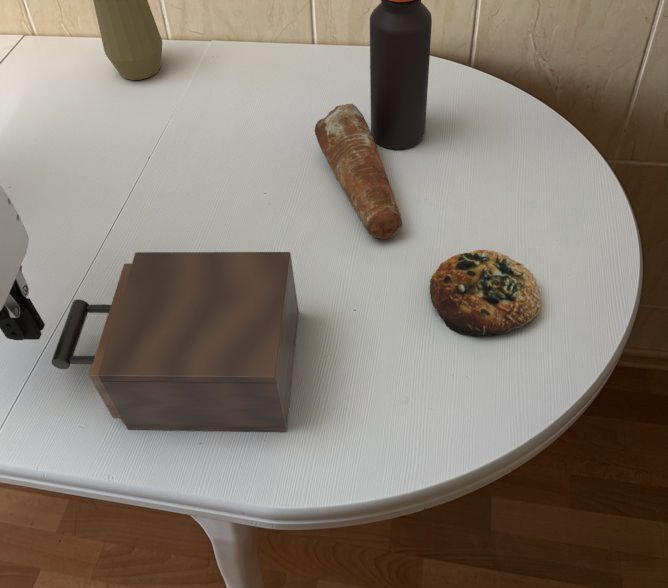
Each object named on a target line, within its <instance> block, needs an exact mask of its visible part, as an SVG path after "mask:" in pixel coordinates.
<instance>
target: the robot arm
mask: <svg viewBox="0 0 668 588" xmlns="http://www.w3.org/2000/svg"><path fill="white" fill-rule="evenodd" d="M29 240H30V239H29V233H28V231H27V229H26V226H25V224H24V222H23V220H22V217H21V216H20V214H19V212H18V210H17V208H16V207H15V205H14V203H13V201H12V200H11V199H10V197H9V195H8V194H7V192H6V190H5V189H4V187H3V186H2V184H0V330H1V332H2V334H3V335H4V337H5V338H6V339H9V340H13V341H24V340H29V341H30V340H33V341H34V340H35V341H36V340H40V339H41V336H42V335H43V334H42V331H44V328H45V326H46V324H45V321H44V320H43V318H42V317H41V315H40V313H39V312H38V310H37V308H36V307H35V305H34V303H33V302H32V300H31V298H30V297H28V296H29V294H30V293H29V292H30V288H29V285H28V283H27V280H26V278H25V276H24V274H23V270H22V268H23V265H22V264H23V261H24V259H25V256H26V254H27V250H28V247H29V242H30V241H29Z"/></svg>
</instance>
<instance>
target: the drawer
mask: <svg viewBox="0 0 668 588" xmlns="http://www.w3.org/2000/svg"><path fill="white" fill-rule="evenodd" d="M131 265H132V263H124V264H123V266H122V269H121V272H120V276H119V280H118V281H117V285H116V288H115V292H114V293H113V294H114V295H113V298H112V301H111V303H110V304H89V303H88V302H87V301H85V300H83V299H74V300H73V301H72V303H71V305H70V308H69V310H68V314H67V316H66V319H65V322H64V325H63V328H62V331H61V333H60V336H59V339H58V341H57V345H56V348H55V350H54V353H53V355H52V358H51V361H50V362H51V365H52V366H53V367H55V368H56V369H58V370H68V369H69V368H70V367H71V366H72V365H78V366H79V365H84V366H85V365H87V366H88V365H89V366H90V365H91V368H90V371H89V374H88V377H89V379H90V381H91V382H92V384H93V385H94V387H95V389H96V391H97V393H98V395H99V396H100V398H101V401H103V403H104V405H105V407H106V408H107V410H108V412H109V413H110V416H111V417H112V419H115V420H116V419H117V420H119V419H121V420H122V418H121V417H120V415H119V413H118V411H117V409H116V408H115V406H114V404H113V402H112V400H111V399H110V397H109V395H108V393H107V392H106V390H105V388H104V386H103V384H102V383H101V380H100V379H99V377H98V373H99V370H100V367H101V364H102V360H103V357H104V354H105V351H106V347H107V344H108V341H109V337H110V334H111V331H112V328H113V324H114V321H115V318H116V314H117V311H118V308H119V305H120V301H121V298H122V295H123V291H124V288H125V285H126V282H127V278H128V275H129V272H130V269H131ZM88 314H107V317H106V320H105V324H104V326H103V330H102V333H101V336H100V339H99V342H98V345H97V348H96V352H95V355H75V352H76V350H77V346H78V344H79V342H80V341H79V340H80V338H81V335H82V332H83V329H84V325H85V323H86V320H87V318H88Z"/></svg>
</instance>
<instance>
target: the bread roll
mask: <svg viewBox="0 0 668 588" xmlns="http://www.w3.org/2000/svg"><path fill="white" fill-rule="evenodd" d="M428 288H429V294H430V301H431V304H432V306H433V308H434V309H435V310H436V311H437V313H438V315H439V316H440V318H441V319H442V321H443V322H444V324H445V325H446V327H447V328H449V329H450V330H451V331H454V332H457V333H458V334H462V335H468V336H472V337H480V336H482V337H494V336H498V335H499V336H500V335H504V334H509V333H510V332H511V331H512V330H514V329H518V328H523V327H525V326H527V325H528V324H530V323H531V322H532V321H533V320H534V318H536V316H537V315H538V314H539V313H540V311H541V308H542V305H541V293H540V288H539V285H538V282H537V279H536V278H535V276H534V273H532V272H531V270H530V269H528V268H527V266H525V265H524V264H523V263H521V262H518V261H516V260H515V259H512V258H511V257H510V256H508V255H507V254H503V253H501V252H498V251H495V250H488V249H477V250H474V251H469V252H463V253H458V254H455V255H453V256H451V257H450V258H449V257H448V258H447V259H446V260H445V261H442V262H441V263H440V264H439V266H438V268H437V269H436V270H435V272H433V274H432V276H431V277H430V279H429V287H428Z"/></svg>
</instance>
